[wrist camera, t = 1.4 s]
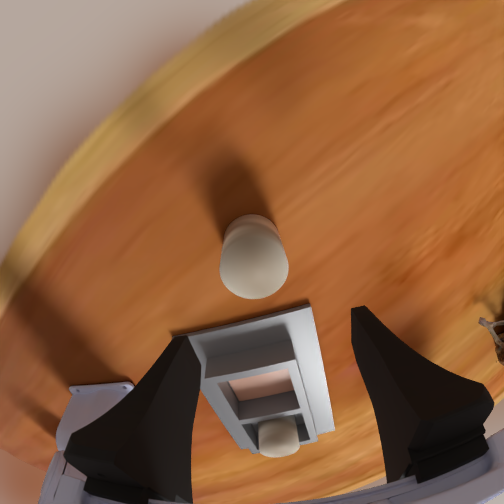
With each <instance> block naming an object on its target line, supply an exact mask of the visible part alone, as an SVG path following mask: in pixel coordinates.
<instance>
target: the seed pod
mask: <svg viewBox="0 0 504 504" xmlns="http://www.w3.org/2000/svg"><path fill="white" fill-rule="evenodd" d="M479 324H480V325H482V326H485V327H487V329H488V330H489V332H490V333H491V335H492V336H493V338H494V340H495V342H496V348H495V352H496V353H497V357H498V361H499V362H500V363H501V364H502V365H503V366H504V333H501V334H499V335H498V336H497V335H496V333H495V331H494V330H493V328H494V327H496V326H497V325H504V320H502V321H498V322H488V321H486V320H485V318H482V317H480V319H479Z"/></svg>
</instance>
